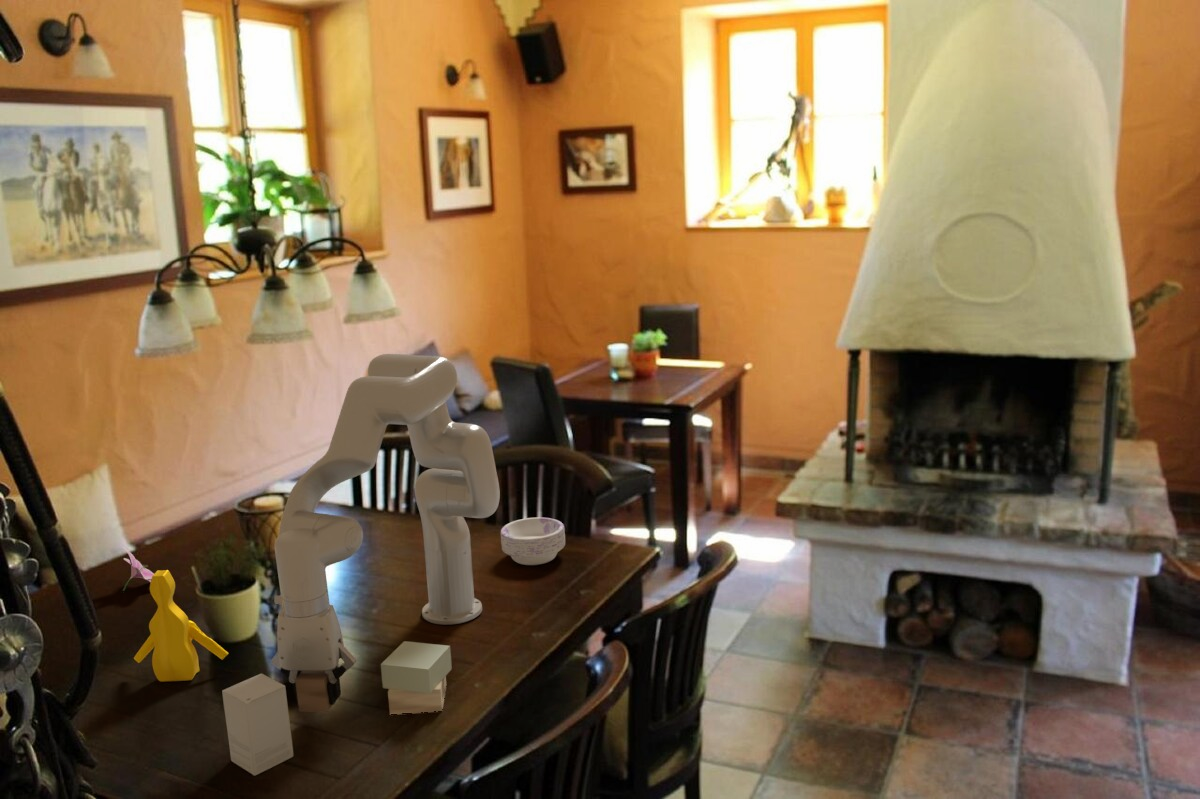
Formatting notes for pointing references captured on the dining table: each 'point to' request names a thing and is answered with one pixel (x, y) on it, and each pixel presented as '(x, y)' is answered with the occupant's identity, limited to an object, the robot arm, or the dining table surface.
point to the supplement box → (258, 723)
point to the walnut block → (312, 691)
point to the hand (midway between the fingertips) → (318, 699)
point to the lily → (137, 569)
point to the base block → (417, 700)
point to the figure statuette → (173, 635)
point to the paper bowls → (533, 540)
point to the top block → (416, 667)
